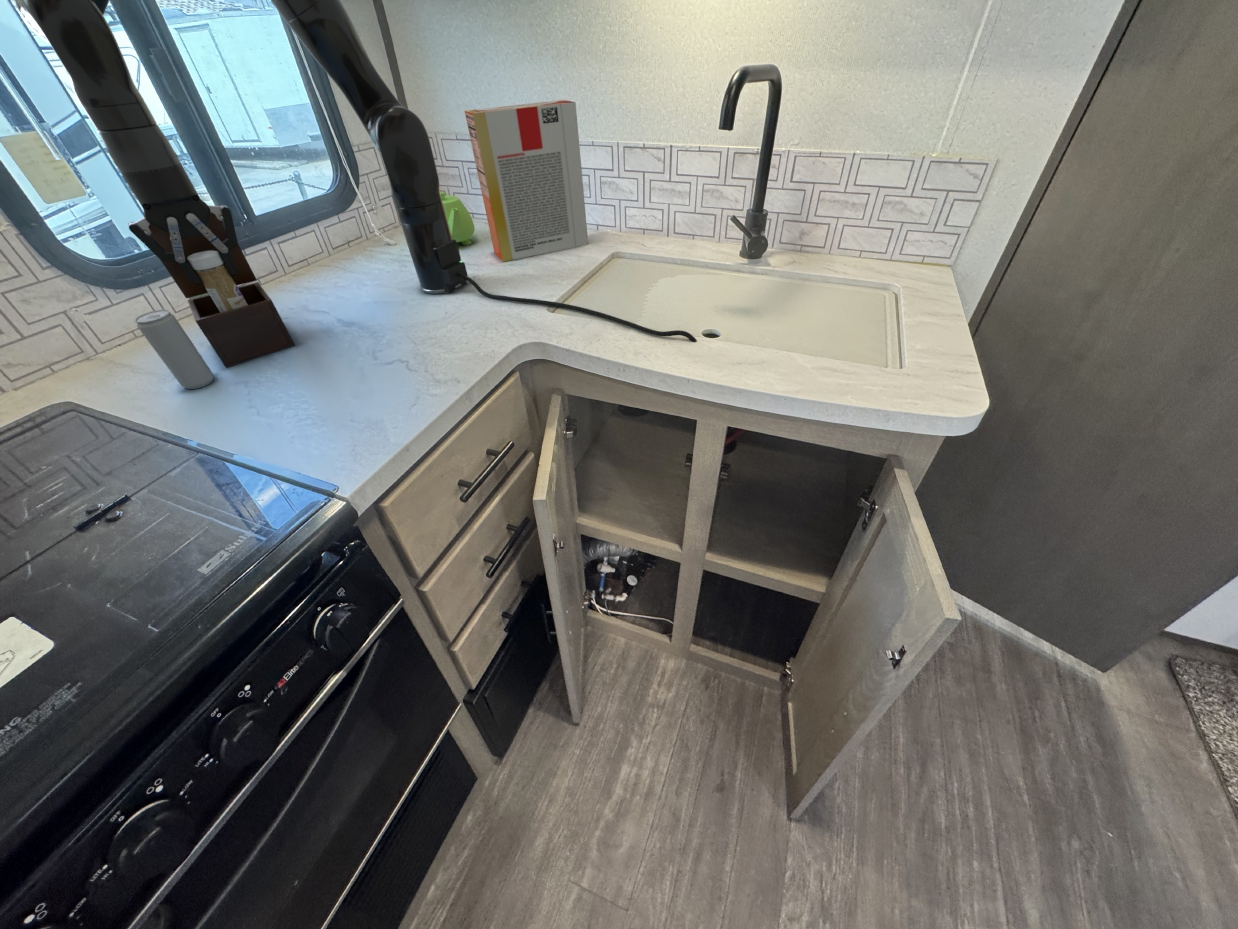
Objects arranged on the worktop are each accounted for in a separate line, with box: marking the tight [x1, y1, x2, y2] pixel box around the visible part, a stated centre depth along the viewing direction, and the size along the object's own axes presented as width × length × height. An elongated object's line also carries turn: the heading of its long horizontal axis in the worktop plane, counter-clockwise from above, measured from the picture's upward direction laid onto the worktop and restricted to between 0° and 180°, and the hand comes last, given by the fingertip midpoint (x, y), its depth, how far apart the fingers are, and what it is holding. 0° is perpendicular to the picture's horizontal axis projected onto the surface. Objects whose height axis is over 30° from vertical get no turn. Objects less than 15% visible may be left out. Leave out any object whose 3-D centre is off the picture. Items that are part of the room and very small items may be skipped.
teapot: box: [440, 190, 476, 246], centre depth 132 cm, size 20×13×13 cm
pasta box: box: [464, 99, 589, 263], centre depth 118 cm, size 23×8×30 cm, turn 116°
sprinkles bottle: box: [187, 250, 248, 313], centre depth 86 cm, size 5×5×14 cm
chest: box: [187, 281, 296, 368], centre depth 91 cm, size 13×12×9 cm
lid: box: [149, 213, 258, 299], centre depth 87 cm, size 13×12×6 cm
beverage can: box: [134, 309, 215, 390], centre depth 80 cm, size 5×5×12 cm
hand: (216, 278), depth 84 cm, fingers closed on sprinkles bottle, 4 cm apart
